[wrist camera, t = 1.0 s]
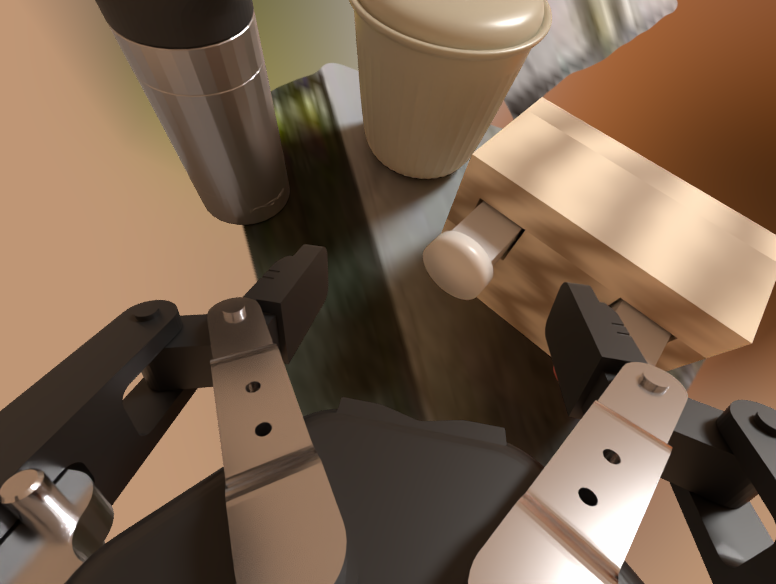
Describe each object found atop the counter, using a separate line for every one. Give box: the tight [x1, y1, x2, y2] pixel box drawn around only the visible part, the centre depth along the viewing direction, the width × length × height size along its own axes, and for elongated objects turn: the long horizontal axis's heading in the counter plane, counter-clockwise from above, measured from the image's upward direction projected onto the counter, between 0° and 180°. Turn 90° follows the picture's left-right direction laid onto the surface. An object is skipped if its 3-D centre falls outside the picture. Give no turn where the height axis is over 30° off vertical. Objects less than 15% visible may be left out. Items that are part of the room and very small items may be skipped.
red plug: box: [553, 298, 671, 380], centre depth 25 cm, size 5×9×5 cm, turn 137°
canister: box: [349, 0, 552, 179], centre depth 36 cm, size 18×18×21 cm
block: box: [442, 97, 776, 372], centre depth 31 cm, size 20×10×14 cm, turn 48°
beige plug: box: [423, 201, 525, 300], centre depth 28 cm, size 5×9×5 cm, turn 138°
